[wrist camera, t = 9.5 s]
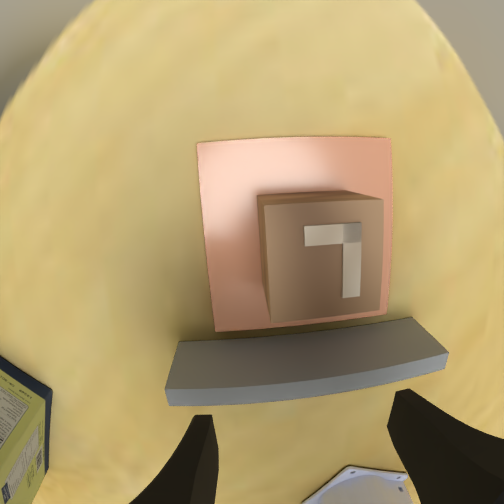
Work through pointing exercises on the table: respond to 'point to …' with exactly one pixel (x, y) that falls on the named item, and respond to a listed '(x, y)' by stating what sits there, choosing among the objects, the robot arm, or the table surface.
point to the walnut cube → (320, 253)
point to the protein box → (22, 434)
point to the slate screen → (301, 364)
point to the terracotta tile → (275, 182)
